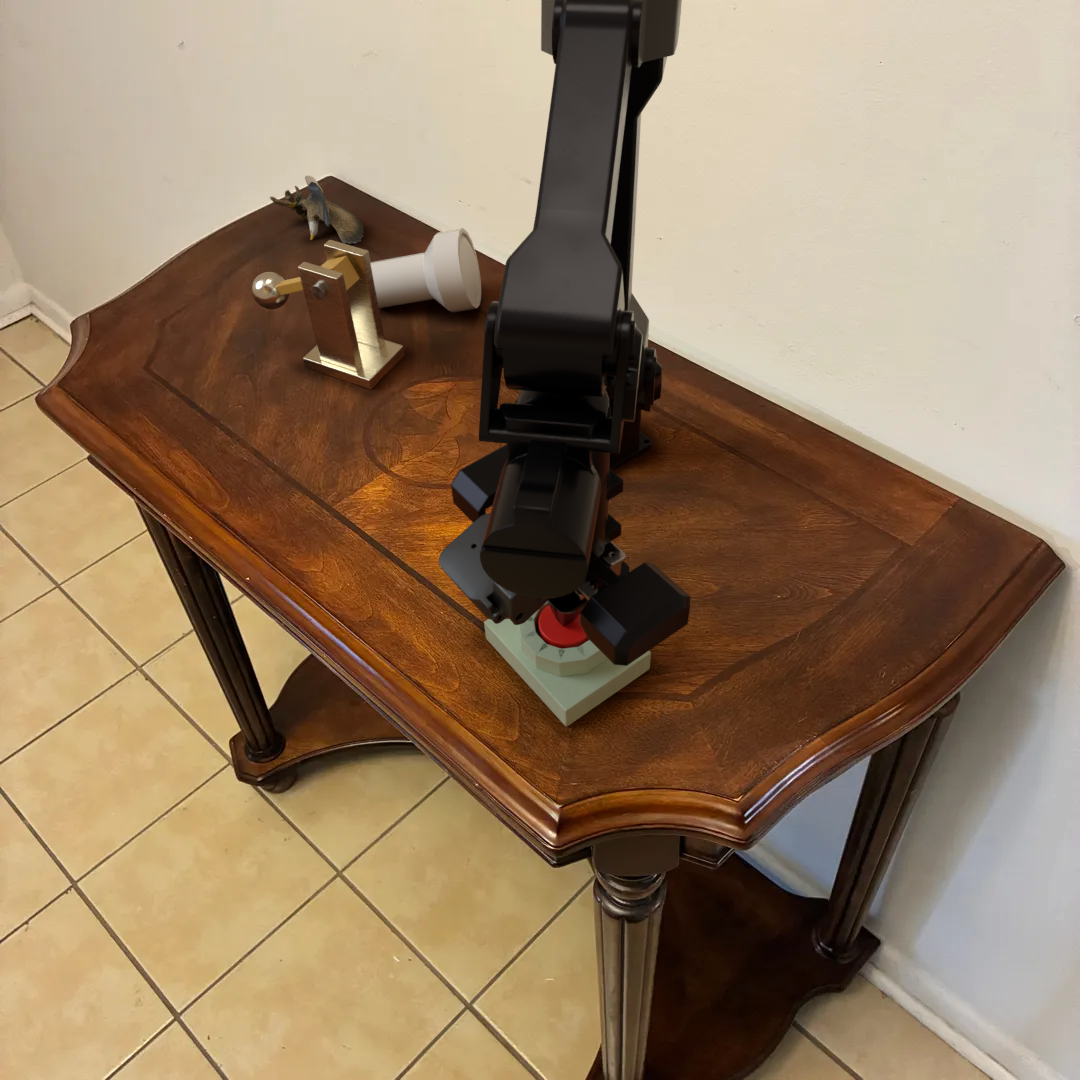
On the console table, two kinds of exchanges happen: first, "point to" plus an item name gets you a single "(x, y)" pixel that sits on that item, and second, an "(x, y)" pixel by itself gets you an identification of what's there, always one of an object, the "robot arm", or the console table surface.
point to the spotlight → (432, 274)
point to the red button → (560, 631)
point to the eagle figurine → (323, 212)
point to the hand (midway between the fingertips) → (565, 620)
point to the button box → (561, 668)
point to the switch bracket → (347, 321)
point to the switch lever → (294, 283)
